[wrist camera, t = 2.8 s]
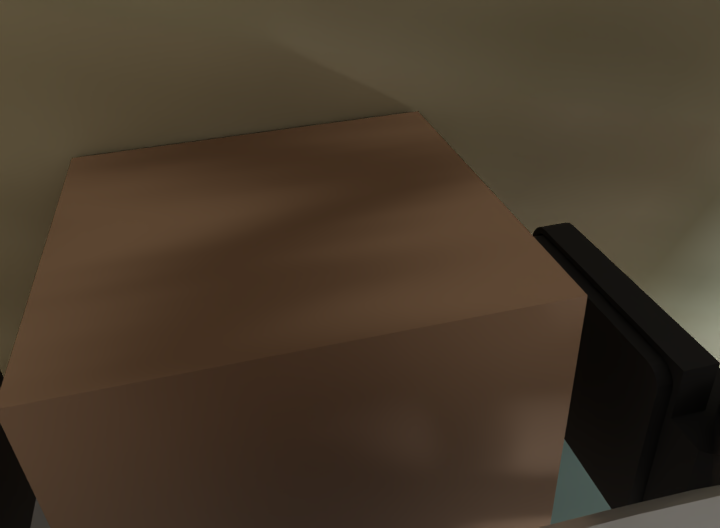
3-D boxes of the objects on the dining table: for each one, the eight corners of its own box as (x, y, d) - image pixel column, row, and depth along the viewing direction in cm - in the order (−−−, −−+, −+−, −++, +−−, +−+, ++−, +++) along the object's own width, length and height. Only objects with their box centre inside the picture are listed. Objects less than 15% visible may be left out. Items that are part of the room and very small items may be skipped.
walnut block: (417, 111, 12) (587, 295, 7) (419, 362, 15) (536, 608, 10) (71, 158, 11) (-7, 410, 6) (150, 417, 14) (141, 717, 9)
